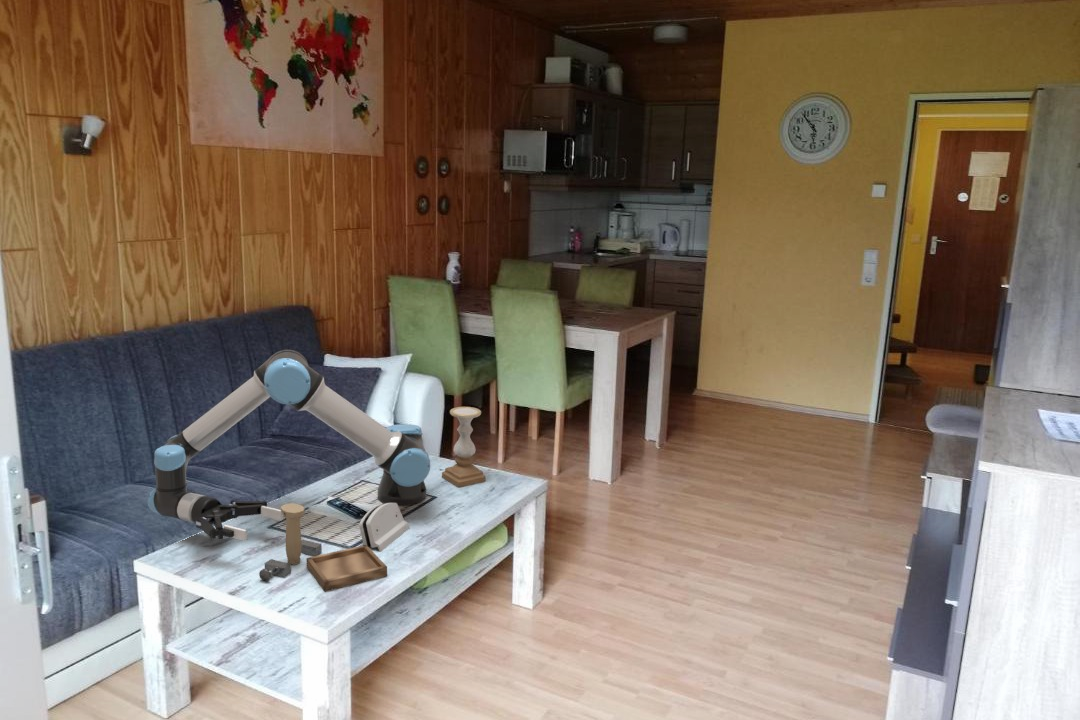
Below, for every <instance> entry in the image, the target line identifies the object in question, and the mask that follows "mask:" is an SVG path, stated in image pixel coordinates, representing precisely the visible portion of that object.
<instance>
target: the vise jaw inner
mask: <svg viewBox="0 0 1080 720" xmlns="http://www.w3.org/2000/svg"><path fill="white" fill-rule="evenodd" d="M301 541H302V547H301V554H304V555H306V556H307V555H308V556H310V557H313V556H318V555H321V554H323V551H322V543H318V542H315V541H310V540H308V539H301Z"/></svg>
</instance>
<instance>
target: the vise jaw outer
mask: <svg viewBox="0 0 1080 720" xmlns="http://www.w3.org/2000/svg"><path fill="white" fill-rule="evenodd" d="M291 566H292V564H289V563H288V562H284V561H280V560H276V559H274V558H273V559H271V558H270V559H268V560H267V561H266V562H264V568H262V569H261V570H260V571H259V573H258V575H259V578H260V580H261V581H263V582H268V581H270V580H271V578H272V576H273V575H274V576H277V577H281V578H284V579H285V578H286V577H287V576H290V574H291V573H292V567H291Z"/></svg>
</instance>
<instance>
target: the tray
mask: <svg viewBox="0 0 1080 720" xmlns="http://www.w3.org/2000/svg"><path fill="white" fill-rule="evenodd" d="M305 561H306V568H307V569H308V571H309V573H310V574H311V575H312V576H313V577H314V579H315V580H316V581H317V583H318V585H319V586H320V587H321V589H323V591H324V592H328V591H334V590H337V589H340V588H344V587H348V586H353V585H357V584H361V583H364V582H368V581H373V580H377V579H380V578H384V577H388V566H387V565H386V564H385V562H383V561H382V560H381V559H380V558H379V557H378V556H377V554H375V552H374V551H373V550H372V548H371V547H368V546H367V545H359V546H355V547H350V548H345V549H341V550H336V551H332V552H331V551H330V552H327V553H324V554H323V553H321V554H319V555H317V556H310V557H307V558H306V559H305Z"/></svg>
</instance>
